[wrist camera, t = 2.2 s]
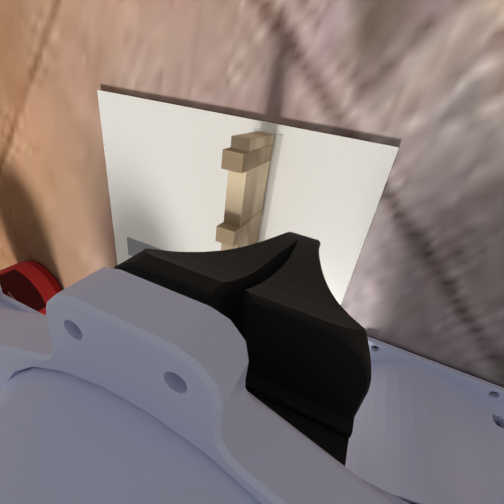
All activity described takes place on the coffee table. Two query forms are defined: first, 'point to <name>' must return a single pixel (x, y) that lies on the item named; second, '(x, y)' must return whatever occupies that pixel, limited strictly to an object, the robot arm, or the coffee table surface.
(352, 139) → the card
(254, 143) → the fence panel
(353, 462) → the robot arm
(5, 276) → the canned food
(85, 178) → the coffee table surface
